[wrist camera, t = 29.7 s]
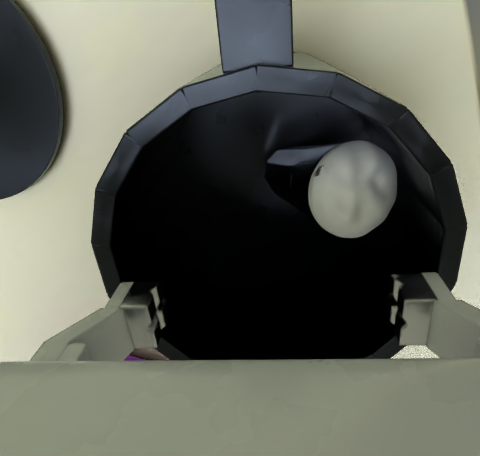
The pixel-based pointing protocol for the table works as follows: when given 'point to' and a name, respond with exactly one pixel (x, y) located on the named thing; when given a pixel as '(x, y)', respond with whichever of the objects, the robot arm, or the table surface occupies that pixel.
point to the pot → (269, 205)
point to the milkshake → (336, 184)
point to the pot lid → (26, 103)
